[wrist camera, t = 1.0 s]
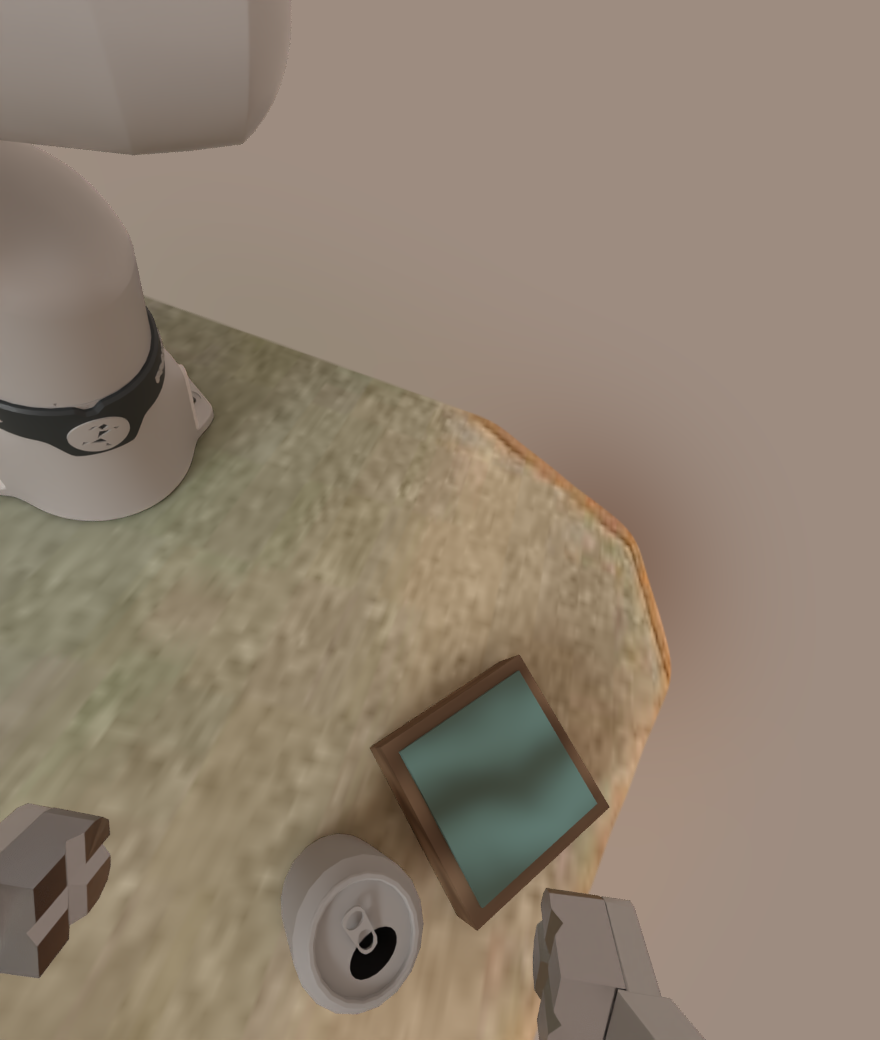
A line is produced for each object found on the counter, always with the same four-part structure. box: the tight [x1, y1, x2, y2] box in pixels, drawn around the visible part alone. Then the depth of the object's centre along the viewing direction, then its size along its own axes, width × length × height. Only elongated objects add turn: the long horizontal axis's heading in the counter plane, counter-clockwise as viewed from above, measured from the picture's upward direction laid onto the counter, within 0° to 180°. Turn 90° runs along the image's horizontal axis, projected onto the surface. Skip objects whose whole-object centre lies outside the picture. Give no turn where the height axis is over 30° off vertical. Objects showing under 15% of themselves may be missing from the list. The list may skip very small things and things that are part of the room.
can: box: [281, 834, 423, 1014], centre depth 35 cm, size 8×8×12 cm
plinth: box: [370, 655, 609, 930], centre depth 45 cm, size 14×14×4 cm
